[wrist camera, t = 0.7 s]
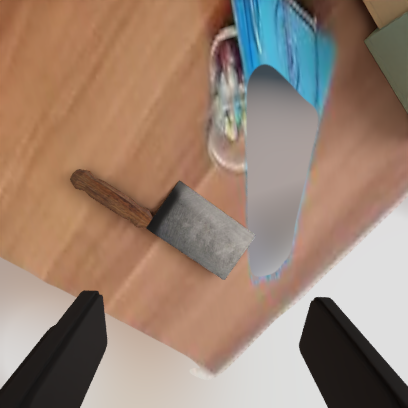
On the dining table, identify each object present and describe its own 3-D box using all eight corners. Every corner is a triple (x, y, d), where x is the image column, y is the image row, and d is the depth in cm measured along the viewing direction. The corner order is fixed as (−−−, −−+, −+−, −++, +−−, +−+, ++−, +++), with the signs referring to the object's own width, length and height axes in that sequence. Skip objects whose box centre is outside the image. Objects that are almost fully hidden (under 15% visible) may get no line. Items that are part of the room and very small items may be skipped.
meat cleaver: (256, 234, 39) (262, 244, 36) (222, 274, 42) (224, 286, 38) (108, 129, 33) (96, 126, 29) (77, 182, 36) (62, 186, 32)
